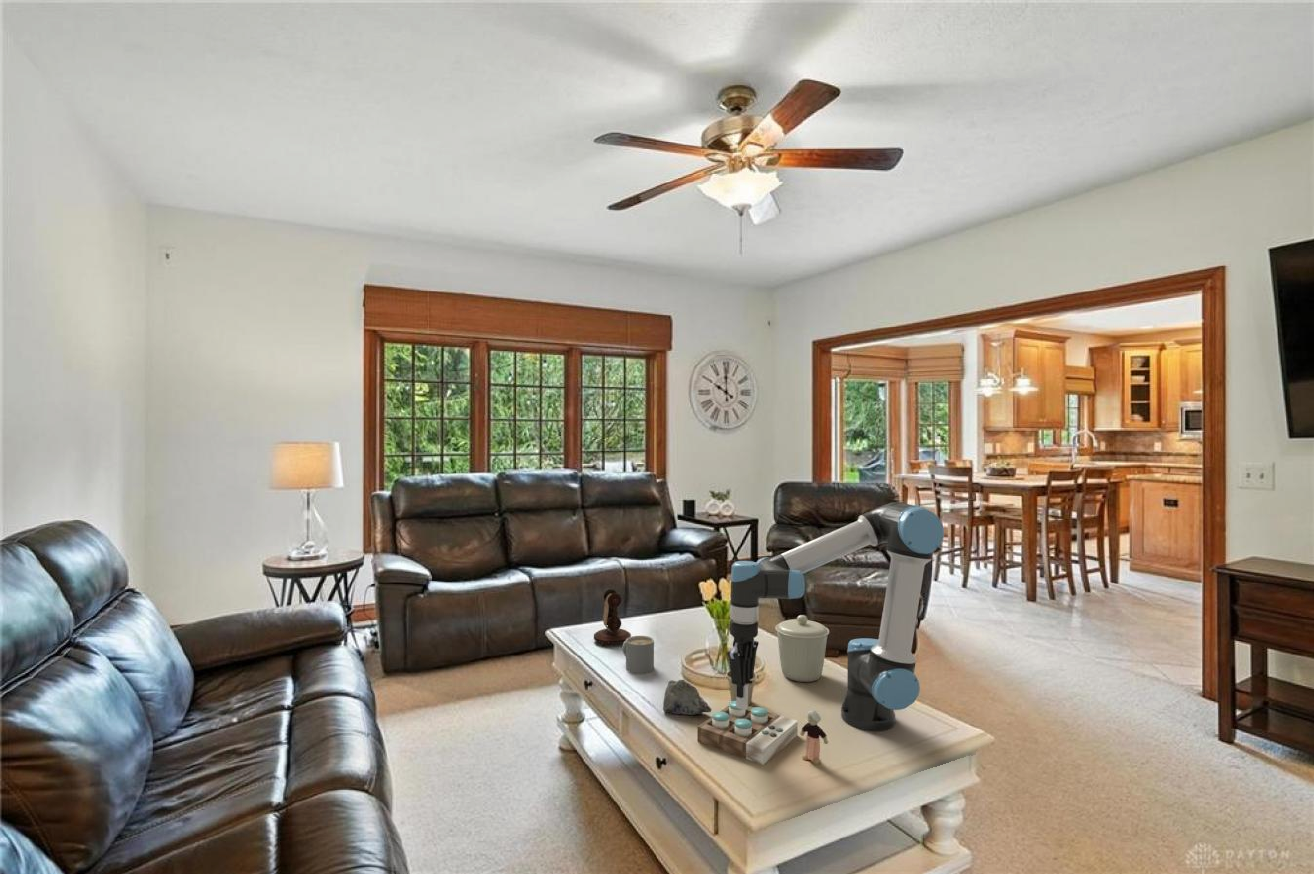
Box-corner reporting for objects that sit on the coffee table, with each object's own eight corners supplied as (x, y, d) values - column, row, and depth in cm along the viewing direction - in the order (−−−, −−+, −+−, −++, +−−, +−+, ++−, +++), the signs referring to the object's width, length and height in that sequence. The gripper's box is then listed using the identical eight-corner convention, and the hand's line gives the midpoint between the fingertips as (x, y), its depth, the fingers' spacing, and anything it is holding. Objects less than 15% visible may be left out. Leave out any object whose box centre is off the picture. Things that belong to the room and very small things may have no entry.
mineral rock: (713, 717, 187) (713, 683, 187) (684, 727, 181) (684, 692, 181) (686, 702, 198) (686, 669, 198) (658, 710, 191) (658, 677, 191)
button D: (732, 729, 175) (732, 714, 175) (723, 735, 171) (723, 720, 171) (718, 724, 178) (718, 710, 178) (709, 730, 174) (709, 716, 174)
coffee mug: (659, 669, 224) (659, 641, 224) (635, 675, 218) (635, 646, 218) (638, 658, 235) (639, 631, 235) (615, 663, 229) (615, 636, 229)
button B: (754, 736, 171) (754, 721, 171) (746, 743, 167) (746, 728, 167) (739, 731, 174) (740, 717, 174) (731, 738, 170) (731, 723, 170)
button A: (770, 724, 178) (770, 710, 178) (762, 730, 174) (762, 716, 174) (755, 719, 181) (755, 705, 181) (747, 725, 177) (747, 711, 177)
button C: (748, 717, 182) (748, 703, 182) (740, 723, 179) (740, 709, 178) (734, 713, 185) (734, 699, 185) (726, 718, 181) (726, 704, 181)
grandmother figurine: (796, 759, 163) (796, 710, 163) (801, 753, 167) (801, 704, 167) (826, 767, 159) (826, 717, 159) (830, 761, 163) (830, 711, 163)
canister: (811, 664, 230) (812, 606, 229) (839, 684, 212) (839, 621, 212) (766, 669, 225) (766, 610, 225) (790, 689, 207) (790, 625, 207)
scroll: (590, 637, 259) (590, 588, 258) (625, 633, 263) (625, 585, 263) (598, 649, 244) (598, 597, 244) (635, 645, 249) (635, 594, 249)
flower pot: (755, 710, 192) (756, 681, 192) (724, 707, 194) (724, 679, 194) (757, 697, 201) (757, 670, 201) (727, 694, 203) (727, 667, 203)
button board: (797, 735, 176) (797, 720, 176) (763, 765, 161) (763, 748, 160) (734, 715, 189) (734, 701, 189) (697, 741, 173) (697, 725, 173)
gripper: (743, 612, 177) (741, 696, 178) (719, 622, 167) (717, 712, 167) (768, 617, 173) (765, 703, 173) (744, 628, 163) (742, 720, 163)
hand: (741, 707), depth 170 cm, fingers closed
